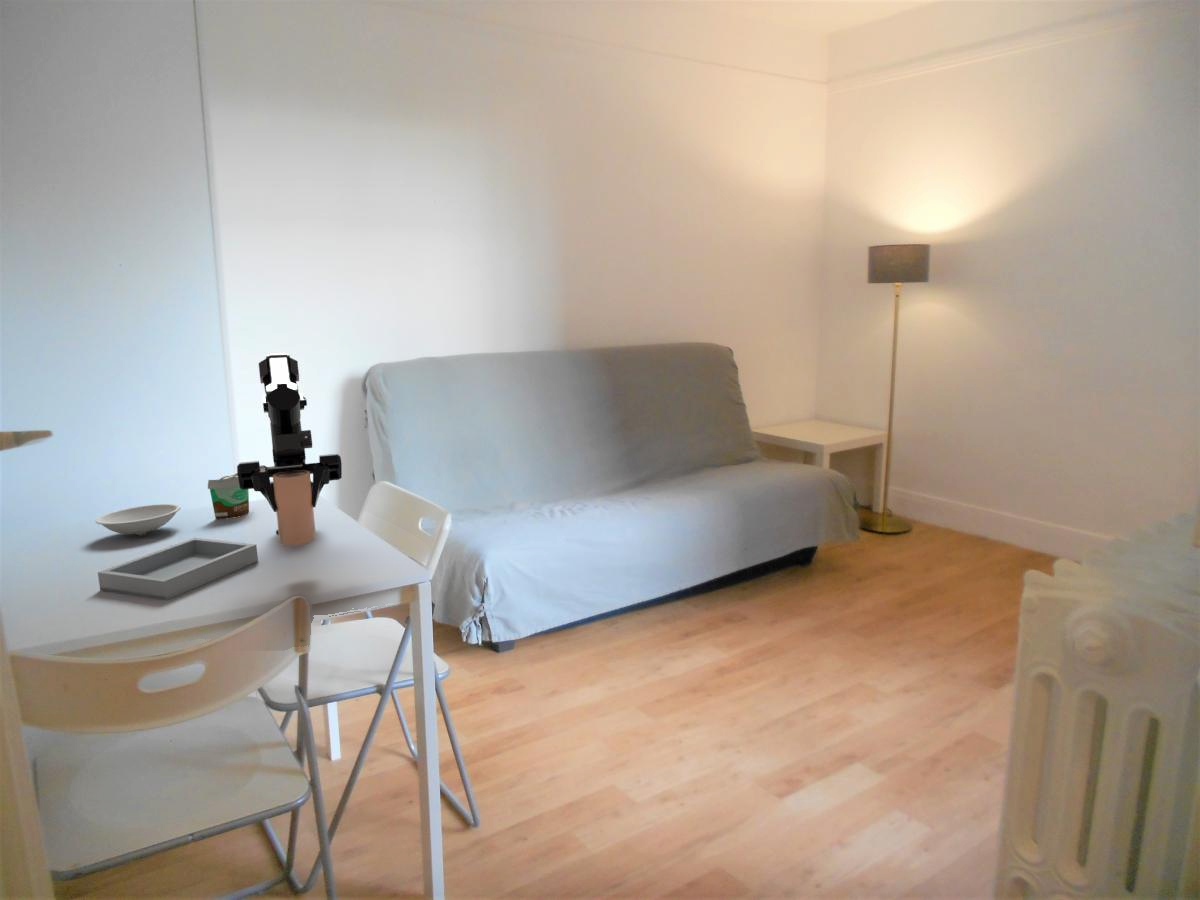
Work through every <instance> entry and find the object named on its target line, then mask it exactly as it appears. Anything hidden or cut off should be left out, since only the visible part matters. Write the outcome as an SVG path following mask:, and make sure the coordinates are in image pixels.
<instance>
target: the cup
mask: <svg viewBox="0 0 1200 900" xmlns="http://www.w3.org/2000/svg"><path fill="white" fill-rule="evenodd" d="M272 481H273V484H274V493H275V503H276V512H275V513H276V518H277V519H276V520H277V521H276V522H277V530H278V531H279V533H278V538H279V539H278V540H279V544H280V545H283V546H302V545H306V544H310V543H312V542H314V541H316V540H317V533H316V522H315V513H314V511H315V510H314V508H313V501H312V490H311V482H312V479H311V474H310V472H309V471H306V470H292V471H284V472H279V473H276V474H274V475H273V477H272Z"/></svg>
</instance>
